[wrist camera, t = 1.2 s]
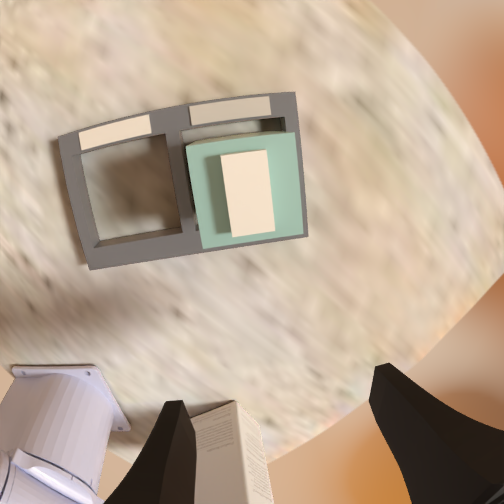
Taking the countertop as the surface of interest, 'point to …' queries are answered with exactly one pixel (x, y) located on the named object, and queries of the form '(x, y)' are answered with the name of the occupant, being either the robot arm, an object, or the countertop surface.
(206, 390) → the countertop surface
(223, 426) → the skincare box
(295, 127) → the dock
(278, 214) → the plug
